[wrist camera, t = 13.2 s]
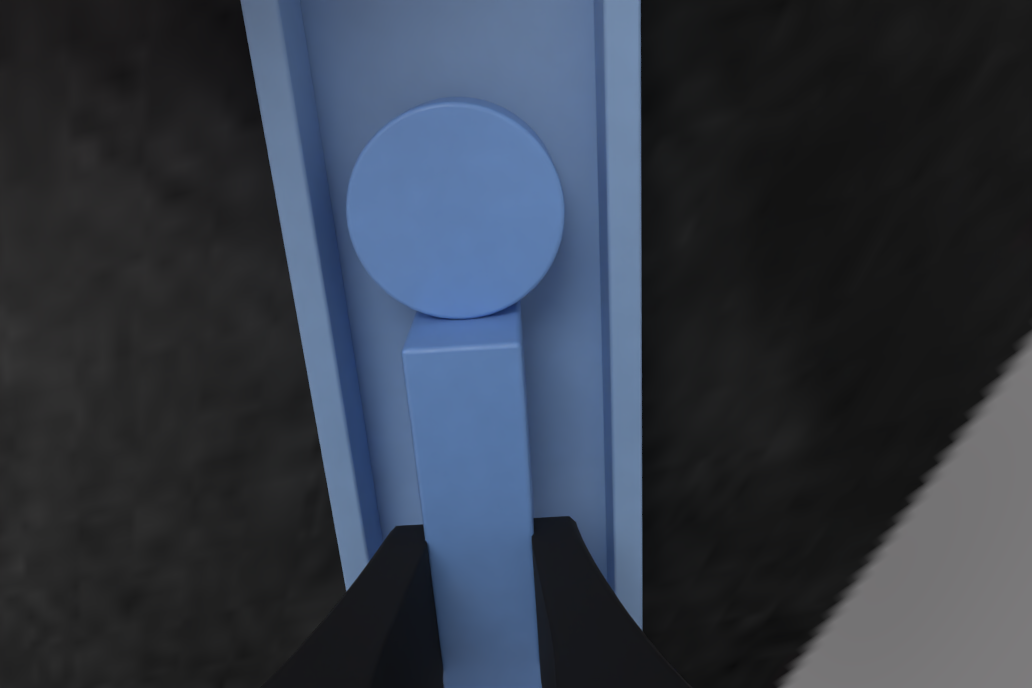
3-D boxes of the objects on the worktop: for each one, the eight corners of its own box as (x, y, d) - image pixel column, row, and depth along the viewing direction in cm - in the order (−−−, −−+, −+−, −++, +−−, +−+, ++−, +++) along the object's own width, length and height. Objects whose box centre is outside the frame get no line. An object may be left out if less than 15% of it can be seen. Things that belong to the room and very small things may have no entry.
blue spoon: (576, 596, 14) (588, 689, 12) (416, 605, 14) (400, 699, 12) (556, 89, 11) (566, 98, 9) (348, 103, 11) (309, 115, 9)
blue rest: (629, 601, 15) (643, 665, 14) (377, 615, 15) (361, 679, 14) (621, -179, 10) (641, -221, 9) (251, -152, 10) (205, -189, 9)
